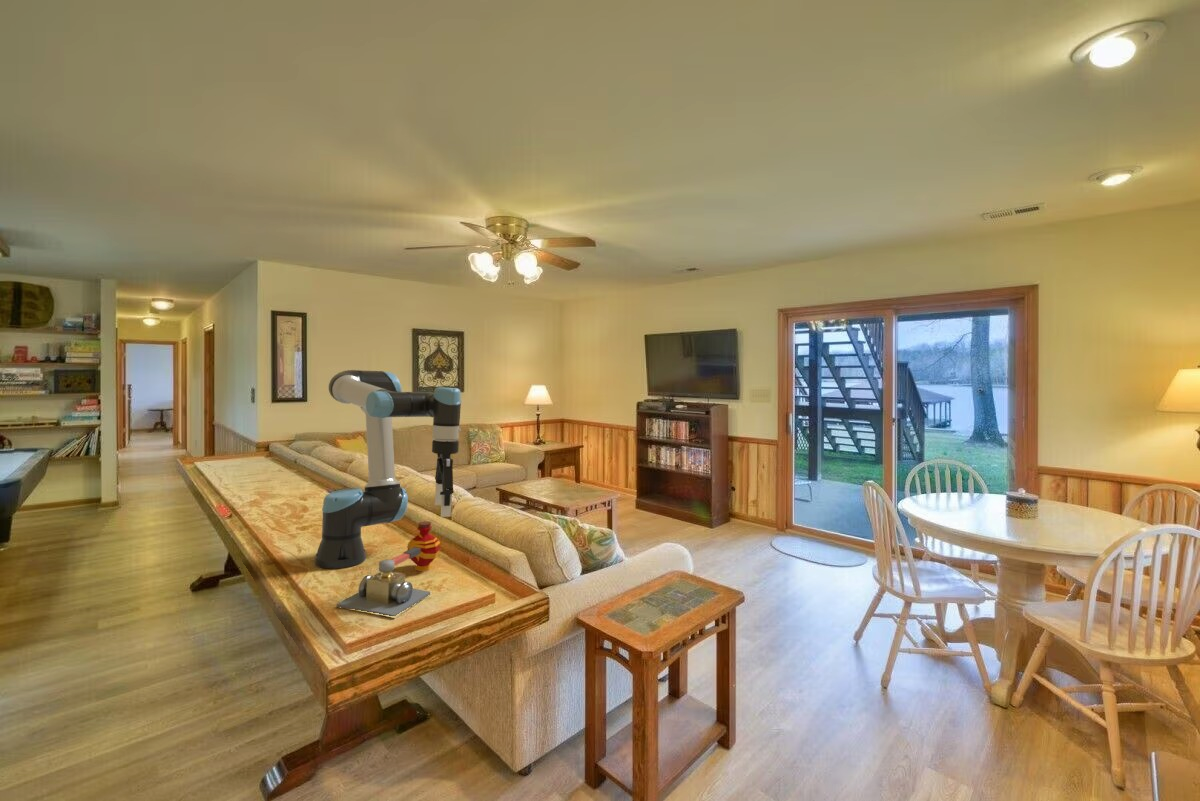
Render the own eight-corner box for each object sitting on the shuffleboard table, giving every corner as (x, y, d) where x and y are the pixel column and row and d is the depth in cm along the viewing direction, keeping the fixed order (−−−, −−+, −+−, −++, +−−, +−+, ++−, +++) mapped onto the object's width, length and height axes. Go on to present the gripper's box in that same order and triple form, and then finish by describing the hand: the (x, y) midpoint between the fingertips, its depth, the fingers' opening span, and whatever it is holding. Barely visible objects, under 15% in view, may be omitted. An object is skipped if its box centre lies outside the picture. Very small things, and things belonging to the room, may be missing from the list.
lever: (388, 572, 140) (388, 565, 140) (375, 570, 141) (375, 563, 141) (422, 554, 155) (423, 548, 155) (411, 552, 157) (411, 546, 156)
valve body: (355, 601, 141) (356, 571, 141) (372, 591, 148) (373, 562, 148) (398, 609, 138) (400, 579, 137) (414, 599, 144) (416, 570, 144)
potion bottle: (405, 563, 171) (407, 519, 170) (437, 561, 175) (439, 517, 175) (406, 575, 161) (408, 528, 161) (440, 572, 166) (442, 526, 165)
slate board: (336, 607, 137) (337, 603, 137) (377, 585, 153) (377, 582, 153) (394, 619, 133) (394, 615, 133) (430, 595, 148) (430, 591, 148)
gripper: (466, 445, 142) (462, 521, 142) (452, 434, 164) (449, 499, 165) (437, 445, 138) (434, 522, 139) (427, 434, 161) (424, 501, 162)
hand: (442, 510), depth 152 cm, fingers open, 13 cm apart
